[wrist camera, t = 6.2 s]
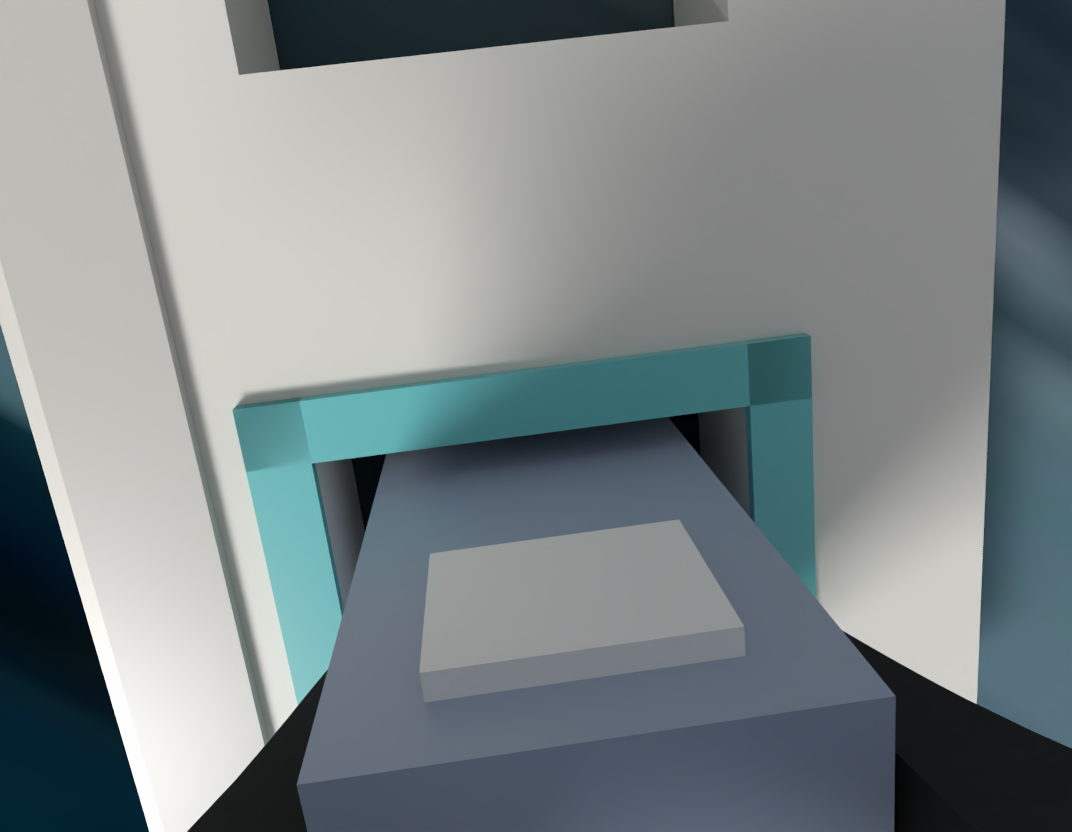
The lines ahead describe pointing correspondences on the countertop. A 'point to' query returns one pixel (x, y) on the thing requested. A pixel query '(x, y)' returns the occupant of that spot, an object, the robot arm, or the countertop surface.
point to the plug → (587, 656)
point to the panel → (487, 311)
